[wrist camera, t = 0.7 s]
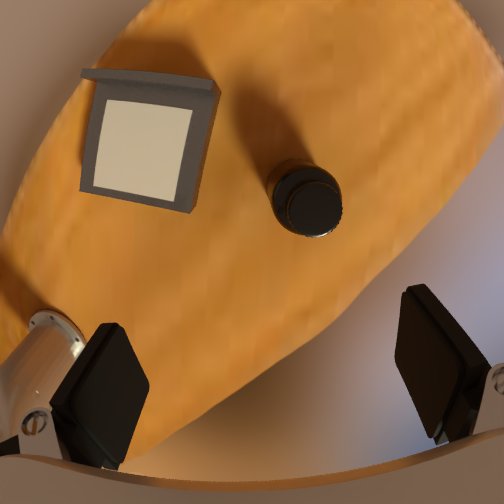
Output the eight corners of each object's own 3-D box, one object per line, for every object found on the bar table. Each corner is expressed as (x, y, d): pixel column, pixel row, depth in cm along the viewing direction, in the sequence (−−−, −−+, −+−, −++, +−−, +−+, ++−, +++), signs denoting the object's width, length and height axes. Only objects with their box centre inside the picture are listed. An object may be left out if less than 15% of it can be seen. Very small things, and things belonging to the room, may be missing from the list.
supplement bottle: (258, 203, 37) (261, 234, 26) (277, 150, 35) (290, 156, 23) (311, 221, 38) (335, 258, 27) (331, 170, 36) (366, 186, 24)
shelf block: (195, 205, 37) (182, 223, 30) (94, 185, 36) (61, 198, 28) (221, 92, 32) (213, 80, 25) (113, 78, 31) (82, 68, 23)
